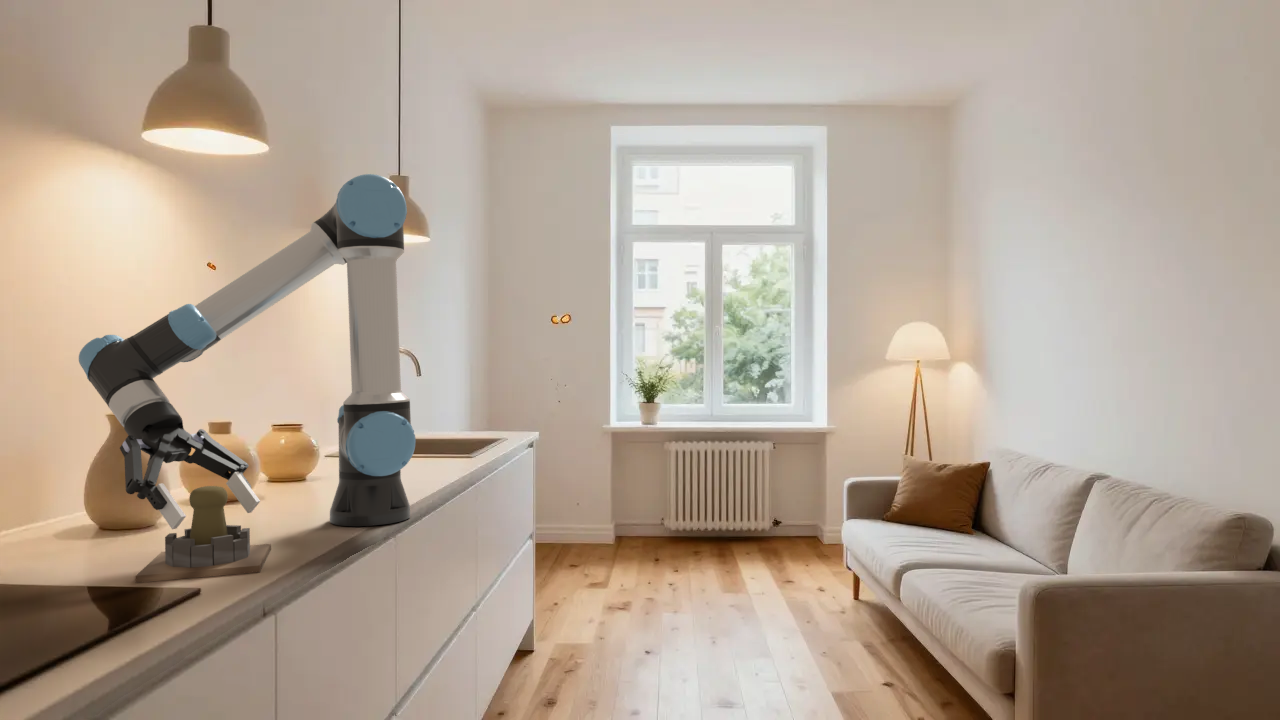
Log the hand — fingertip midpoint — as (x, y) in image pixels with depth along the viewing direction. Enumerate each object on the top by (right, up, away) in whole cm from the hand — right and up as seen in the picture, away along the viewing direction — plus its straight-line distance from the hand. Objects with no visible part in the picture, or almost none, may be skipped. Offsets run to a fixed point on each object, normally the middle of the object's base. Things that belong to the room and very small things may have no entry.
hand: (218, 514), depth 125 cm
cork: (-2, -7, +1) cm, 7 cm away
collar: (-2, -8, +1) cm, 8 cm away
